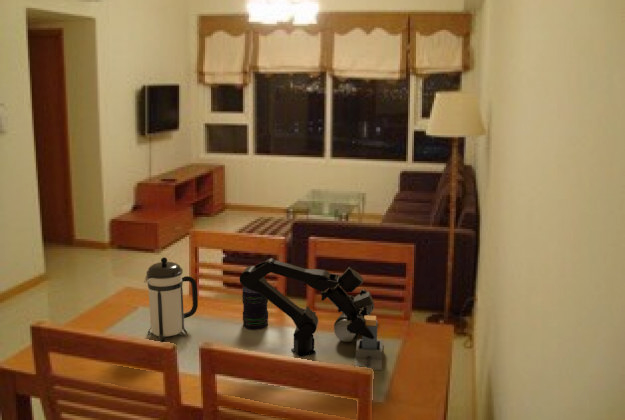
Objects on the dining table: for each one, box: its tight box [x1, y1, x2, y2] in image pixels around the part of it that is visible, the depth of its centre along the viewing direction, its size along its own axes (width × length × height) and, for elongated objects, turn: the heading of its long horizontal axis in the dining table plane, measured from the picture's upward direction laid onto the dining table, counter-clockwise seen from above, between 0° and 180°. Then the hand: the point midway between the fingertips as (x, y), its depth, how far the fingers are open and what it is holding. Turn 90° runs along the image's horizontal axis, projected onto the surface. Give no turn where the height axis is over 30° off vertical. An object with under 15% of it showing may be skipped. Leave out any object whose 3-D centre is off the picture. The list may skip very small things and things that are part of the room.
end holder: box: [354, 338, 384, 371], centre depth 207 cm, size 9×20×4 cm, turn 173°
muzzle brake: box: [333, 293, 375, 343], centre depth 227 cm, size 10×28×10 cm, turn 162°
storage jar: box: [241, 286, 269, 331], centre depth 232 cm, size 10×10×15 cm
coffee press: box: [144, 257, 199, 342], centre depth 222 cm, size 17×16×30 cm
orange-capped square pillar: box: [361, 315, 378, 350], centre depth 206 cm, size 5×5×13 cm
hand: (373, 332), depth 205 cm, fingers open, 9 cm apart
